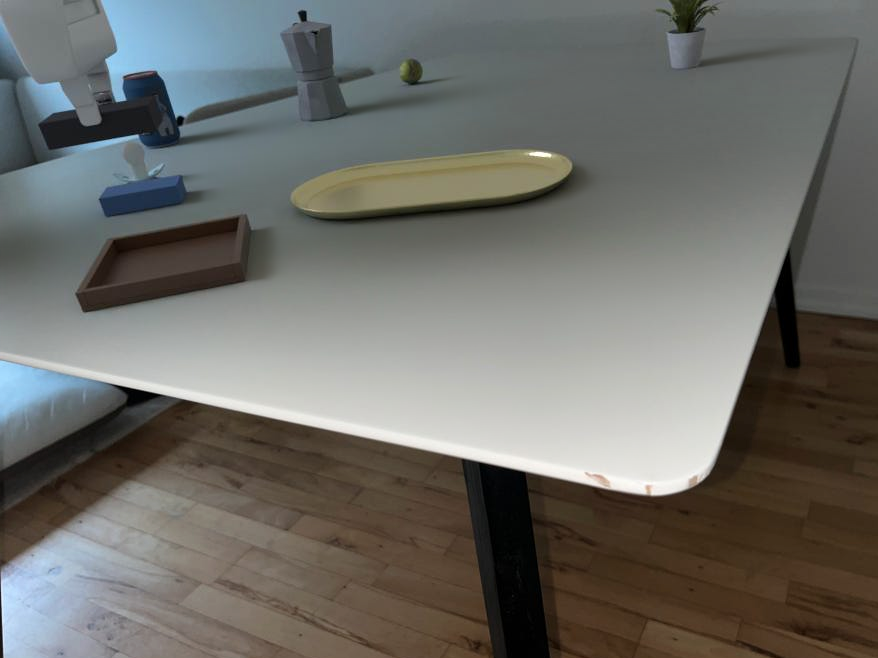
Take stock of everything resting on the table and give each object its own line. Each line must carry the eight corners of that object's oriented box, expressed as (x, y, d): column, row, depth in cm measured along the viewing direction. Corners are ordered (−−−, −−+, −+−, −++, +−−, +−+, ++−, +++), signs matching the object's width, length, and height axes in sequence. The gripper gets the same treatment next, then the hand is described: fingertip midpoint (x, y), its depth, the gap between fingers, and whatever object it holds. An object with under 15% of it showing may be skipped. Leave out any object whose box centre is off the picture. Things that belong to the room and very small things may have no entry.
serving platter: (578, 202, 82) (578, 188, 82) (275, 231, 86) (271, 218, 85) (568, 155, 98) (567, 143, 98) (312, 180, 102) (310, 169, 101)
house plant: (710, 75, 131) (714, -28, 122) (636, 75, 138) (635, -23, 129) (734, 59, 140) (740, -38, 132) (664, 59, 148) (666, -33, 139)
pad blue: (105, 216, 98) (98, 198, 97) (113, 204, 103) (106, 186, 102) (182, 203, 100) (176, 185, 98) (186, 191, 104) (181, 174, 103)
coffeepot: (358, 115, 135) (338, 7, 126) (308, 126, 132) (284, 16, 123) (334, 103, 148) (314, 4, 138) (288, 113, 144) (264, 12, 135)
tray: (82, 312, 72) (74, 293, 71) (113, 254, 85) (107, 238, 84) (245, 280, 74) (239, 262, 73) (251, 229, 87) (246, 213, 86)
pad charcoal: (48, 150, 70) (37, 124, 69) (62, 138, 75) (52, 112, 74) (156, 131, 72) (147, 104, 71) (163, 120, 77) (155, 95, 75)
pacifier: (169, 186, 108) (169, 175, 113) (155, 144, 105) (155, 134, 110) (116, 197, 106) (118, 185, 111) (100, 154, 103) (103, 144, 108)
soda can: (156, 139, 137) (134, 71, 131) (189, 137, 135) (168, 68, 129) (134, 150, 131) (110, 79, 125) (169, 148, 130) (145, 76, 123)
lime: (398, 86, 156) (394, 61, 153) (412, 81, 159) (408, 56, 156) (414, 86, 153) (410, 61, 151) (428, 81, 157) (425, 56, 154)
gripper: (36, -39, 74) (90, 103, 81) (-38, -35, 56) (39, 146, 64) (101, -48, 75) (149, 93, 82) (48, -48, 57) (115, 132, 64)
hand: (101, 117), depth 73 cm, fingers closed on pad charcoal, 5 cm apart
